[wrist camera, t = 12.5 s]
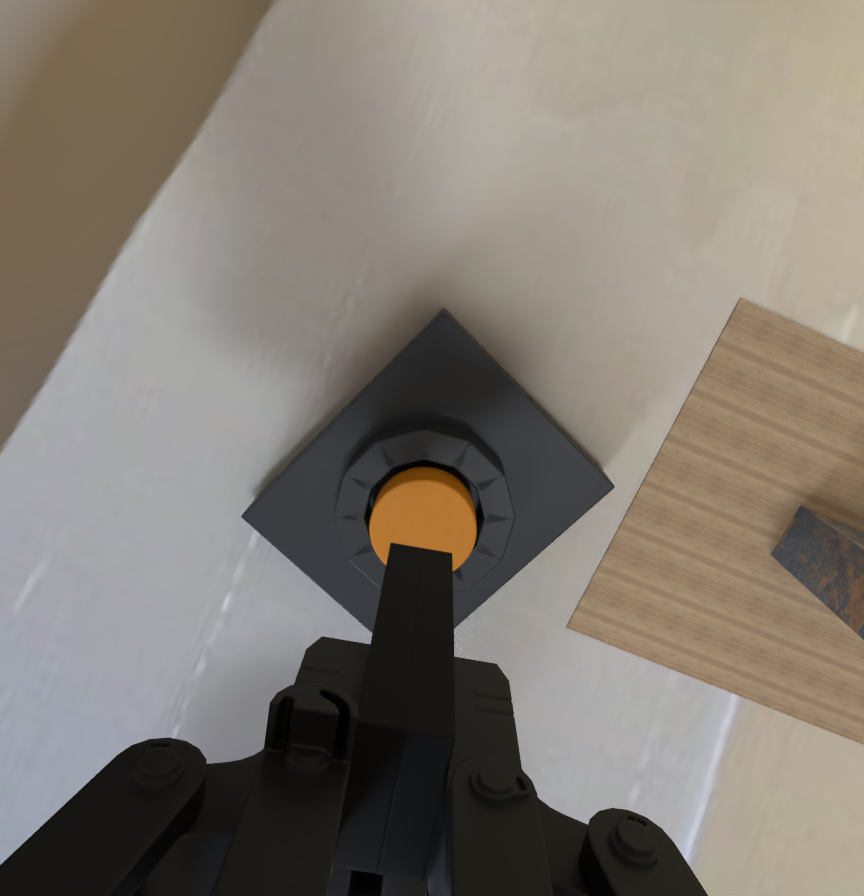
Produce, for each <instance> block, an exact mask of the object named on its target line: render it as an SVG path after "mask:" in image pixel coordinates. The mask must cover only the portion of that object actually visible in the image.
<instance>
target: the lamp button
mask: <svg viewBox="0 0 864 896" xmlns="http://www.w3.org/2000/svg"><path fill="white" fill-rule="evenodd" d="M369 533H370V539H371V543H372V546H373V548H374V550H375V552H376V554H377V556H378V557H379V558H380V560H381V561H382V562H383V563H384V564H385V565H386V564H387V559H388V553H389V548H390V543H397V544H403V545H408V546H414V547H420V548H426V549H432V550H437V551H443V552H449V553H452V561H453V571H454V570H456V569H457V568H458V567H460V566H461V565H462V564H463V563H464V562H465V561H466V559H467V558H468V557H469V555H470V553H471V552H472V550H473V547H474V545H475V541H476V535H477V524H476V514H475V507H474V502H473V499H472V497H471V495H470V493H469V491H468V489H467V488H466V487H465V485H464V484H463V483H462V482H461V481H460V480H459V479H458V478H456V477H455V476H454V475H452V474H450V473H449V472H446V471H444V470H441V469H438V468H434V467H425V466H423V467H414V468H409V469H406V470H404V471H401V472H399V473H398V474H396V475H394V476H393V477H392V478H390V479H389V480H388V481H387V482H386V483H385V484H384V486H383V487H382V488H381V490H380V492H379V494H378V496H377V498H376V501H375V504H374V508H373V511H372V514H371V518H370V524H369Z"/></svg>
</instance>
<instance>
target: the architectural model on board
mask: <svg viewBox="0 0 864 896" xmlns="http://www.w3.org/2000/svg"><path fill="white" fill-rule="evenodd" d="M567 628H569V629H572V630H574V631H577V632H579V633H582V634H584V635H587V636H589V637H592V638H594V639H597V640H599V641H602V642H605V643H607V644H610V645H612V646H615V647H617V648H620V649H622V650H625V651H627V652H630V653H632V654H635V655H637V656H640V657H643V658H645V659H648V660H650V661H653V662H655V663H658V664H660V665H663V666H665V667H668V668H670V669H673V670H676V671H678V672H681V673H683V674H686V675H688V676H691V677H693V678H696V679H698V680H701V681H703V682H706V683H708V684H711V685H714V686H716V687H719V688H721V689H724V690H726V691H729V692H731V693H734V694H736V695H739V696H741V697H744V698H747V699H749V700H752V701H754V702H757V703H759V704H762V705H764V706H767V707H769V708H772V709H774V710H777V711H779V712H782V713H785V714H787V715H790V716H792V717H795V718H797V719H800V720H802V721H805V722H807V723H810V724H812V725H815V726H818V727H820V728H823V729H825V730H828V731H830V732H833V733H835V734H838V735H840V736H843V737H845V738H848V739H850V740H853V741H856V742H858V743H861V744H863V745H864V354H863V353H861V352H858V351H856V350H854V349H852V348H850V347H847V346H845V345H843V344H841V343H838V342H836V341H834V340H832V339H829V338H827V337H825V336H823V335H820V334H818V333H816V332H814V331H811V330H809V329H807V328H805V327H803V326H800V325H798V324H796V323H794V322H791V321H789V320H787V319H785V318H782V317H780V316H778V315H776V314H773V313H771V312H769V311H767V310H764V309H762V308H760V307H758V306H755V305H753V304H751V303H749V302H747V301H744V300H742V299H740V300H739V302H738V304H737V306H736V308H735V310H734V311H733V313H732V315H731V317H730V319H729V321H728V323H727V325H726V327H725V328H724V330H723V332H722V334H721V336H720V338H719V340H718V342H717V344H716V345H715V347H714V349H713V351H712V353H711V355H710V357H709V359H708V361H707V363H706V364H705V366H704V368H703V370H702V372H701V374H700V376H699V378H698V380H697V381H696V383H695V385H694V387H693V389H692V391H691V393H690V395H689V397H688V399H687V400H686V402H685V404H684V406H683V408H682V410H681V412H680V414H679V416H678V417H677V419H676V421H675V423H674V425H673V427H672V429H671V431H670V433H669V434H668V436H667V438H666V440H665V442H664V444H663V446H662V448H661V450H660V452H659V453H658V455H657V457H656V459H655V461H654V463H653V465H652V467H651V469H650V470H649V472H648V474H647V476H646V478H645V480H644V482H643V484H642V486H641V487H640V489H639V491H638V493H637V495H636V497H635V499H634V501H633V503H632V505H631V506H630V508H629V510H628V512H627V514H626V516H625V518H624V520H623V522H622V523H621V525H620V527H619V529H618V531H617V533H616V535H615V537H614V539H613V541H612V542H611V544H610V546H609V548H608V550H607V552H606V554H605V556H604V558H603V559H602V561H601V563H600V565H599V567H598V569H597V571H596V573H595V575H594V576H593V578H592V580H591V582H590V584H589V586H588V588H587V590H586V592H585V594H584V595H583V597H582V599H581V601H580V603H579V605H578V607H577V609H576V611H575V612H574V614H573V616H572V618H571V620H570V622H569V624H568V626H567Z"/></svg>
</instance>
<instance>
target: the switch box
mask: <svg viewBox="0 0 864 896" xmlns="http://www.w3.org/2000/svg"><path fill="white" fill-rule="evenodd" d="M423 466H425V467H434V468H438V469H441V470H444V471H446V472H449V473H450V474H452V475H454V476H455V477H456V478H458V479H459V480H460V481H461V482H462V483H463V484H464V485H465V487H466V488H467V489H468V491H469V493H470V495H471V497H472V499H473V502H474V507H475V514H476V524H477V535H476V541H475V545H474V547H473V550H472V552H471V553H470V555H469V557H468V558H467V559H466V561H465V562H464V563H463V564H462V565H461V566H460V567H458V568H457V569H456V570H454V571H453V617H454V628H455V627H456V626H457V625H459V624H460V623H461V622H462V621H463V620H464V619H465V618H467V617H468V616H469V615H470V614H471V613H472V612H473V611H475V610H476V609H477V608H478V607H479V606H480V605H481V604H483V603H484V602H485V601H486V600H487V599H488V598H489V597H490V596H492V595H493V594H494V593H495V592H496V591H497V590H498V589H500V588H501V587H502V586H503V585H504V584H505V583H506V582H508V581H509V580H510V579H511V578H512V577H513V576H514V575H515V574H517V573H518V572H519V571H520V570H521V569H522V568H523V567H525V566H526V565H527V564H528V563H529V562H530V561H531V560H533V559H534V558H535V557H536V556H537V555H538V554H539V553H541V552H542V551H543V550H544V549H545V548H546V547H547V546H548V545H550V544H551V543H552V542H553V541H554V540H555V539H556V538H558V537H559V536H560V535H561V534H562V533H563V532H564V531H566V530H567V529H568V528H569V527H570V526H571V525H572V524H574V523H575V522H576V521H577V520H578V519H579V518H580V517H581V516H583V515H584V514H585V513H586V512H587V511H588V510H589V509H591V508H592V507H593V506H594V505H595V504H596V503H597V502H599V501H600V500H601V499H602V498H603V497H604V496H605V495H606V494H608V493H609V492H610V491H611V490H612V489H613V488H614V485H613V483H612V482H611V481H610V479H609V478H608V477H607V475H606V474H605V473H604V471H603V470H602V469H601V468H600V467H599V466H598V465H597V464H596V463H595V462H594V461H593V460H592V459H591V458H590V457H589V456H588V455H587V454H586V453H585V452H584V451H583V450H582V449H581V448H580V447H579V446H578V445H577V444H576V443H575V442H574V441H573V439H572V438H571V437H570V436H569V435H568V434H567V433H566V432H565V431H564V430H563V429H562V428H561V427H560V426H559V425H558V424H557V423H556V422H555V421H554V420H553V419H552V418H551V417H550V416H549V415H548V414H547V413H546V412H545V411H544V410H543V409H542V408H541V407H540V406H539V405H538V404H537V403H536V402H535V401H534V400H533V399H532V398H531V397H530V396H529V395H528V393H527V392H526V391H525V390H524V389H523V388H522V387H521V386H520V385H519V384H518V383H517V382H516V381H515V380H514V379H513V378H512V377H511V376H510V375H509V374H508V373H507V372H506V371H505V370H504V369H503V368H502V367H501V366H500V365H499V364H498V363H497V362H496V361H495V360H494V359H493V358H492V357H491V356H490V355H489V354H488V353H487V352H486V351H485V350H484V349H483V348H482V346H481V345H480V344H479V343H478V342H477V341H476V340H475V339H474V338H473V337H472V336H471V335H470V334H469V333H468V332H467V331H466V330H465V329H464V328H463V327H462V326H461V325H460V324H459V323H458V322H457V321H456V320H455V319H454V318H453V317H452V316H451V315H450V314H449V313H448V312H447V311H446V310H445V309H442V310H441V311H440V312H439V313H438V314H437V315H436V316H435V317H434V318H433V319H432V320H431V321H430V322H429V323H428V324H427V325H426V326H425V327H424V328H423V329H422V330H421V331H420V332H419V333H418V334H417V335H416V336H415V337H414V338H413V339H412V340H411V341H410V342H409V343H408V344H407V345H406V347H405V348H404V349H403V350H402V351H401V352H400V353H399V354H398V355H397V356H396V357H395V358H394V359H393V360H392V361H391V362H390V363H389V364H388V365H387V366H386V367H385V368H384V369H383V370H382V371H381V372H380V373H379V374H378V375H377V376H376V377H375V378H374V379H373V380H372V381H371V382H370V383H369V384H368V385H367V386H366V387H365V388H364V389H363V390H362V391H361V392H360V393H359V394H358V395H357V396H356V397H355V398H354V399H353V400H352V401H351V402H350V403H349V404H348V405H347V406H346V407H345V408H344V409H343V410H342V411H341V412H340V413H339V414H338V415H337V417H336V418H335V419H334V420H333V421H332V422H331V423H330V424H329V425H328V426H327V427H326V428H325V429H324V430H323V431H322V432H321V433H320V434H319V435H318V436H317V437H316V438H315V439H314V440H313V441H312V442H311V443H310V444H309V445H308V446H307V447H306V448H305V449H304V450H303V451H302V452H301V453H300V454H299V455H298V456H297V457H296V458H295V459H294V460H293V461H292V462H291V463H290V464H289V465H288V466H287V467H286V468H285V469H284V470H283V471H282V472H281V473H280V474H279V475H278V476H277V477H276V478H275V479H274V480H273V481H272V482H271V483H270V484H269V485H268V486H267V488H266V489H265V490H264V491H263V492H262V493H261V494H260V495H259V496H258V497H257V498H256V499H255V500H254V501H253V502H252V504H251V505H250V506H249V507H248V508H247V510H246V511H245V512H244V513H243V515H242V516H241V517H242V518H243V519H244V520H245V521H246V522H247V523H249V524H250V525H251V526H252V527H253V528H254V529H255V530H256V531H258V532H259V533H260V534H261V535H262V536H263V537H264V538H265V539H267V540H268V541H269V542H270V543H271V544H272V545H273V546H275V547H276V548H277V549H278V550H279V551H280V552H281V553H282V554H284V555H285V556H286V557H287V558H288V559H289V560H290V561H291V562H293V563H294V564H295V565H296V566H297V567H298V568H299V569H300V570H302V571H303V572H304V573H305V574H306V575H307V576H308V577H309V578H311V579H312V580H313V581H314V582H315V583H316V584H317V585H318V586H320V587H321V588H322V589H323V590H324V591H325V592H326V593H327V594H329V595H330V596H331V597H332V598H333V599H334V600H335V601H337V602H338V603H339V604H340V605H341V606H342V607H343V608H344V609H346V610H347V611H348V612H349V613H350V614H351V615H352V616H353V617H355V618H356V619H357V620H358V621H359V622H360V623H361V624H362V625H364V626H365V627H366V628H367V629H368V630H369V631H370V632H371V633H373V630H374V625H375V620H376V615H377V610H378V604H379V599H380V594H381V589H382V584H383V579H384V574H385V569H386V565H385V564H384V563H383V562H382V561H381V560H380V558H379V557H378V556H377V554H376V552H375V550H374V548H373V546H372V543H371V539H370V533H369V524H370V518H371V514H372V511H373V508H374V504H375V501H376V498H377V496H378V494H379V492H380V490H381V488H382V487H383V486H384V484H385V483H386V482H387V481H388V480H389V479H390V478H392V477H393V476H394V475H396V474H398V473H399V472H401V471H404V470H406V469H409V468H414V467H423Z"/></svg>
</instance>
